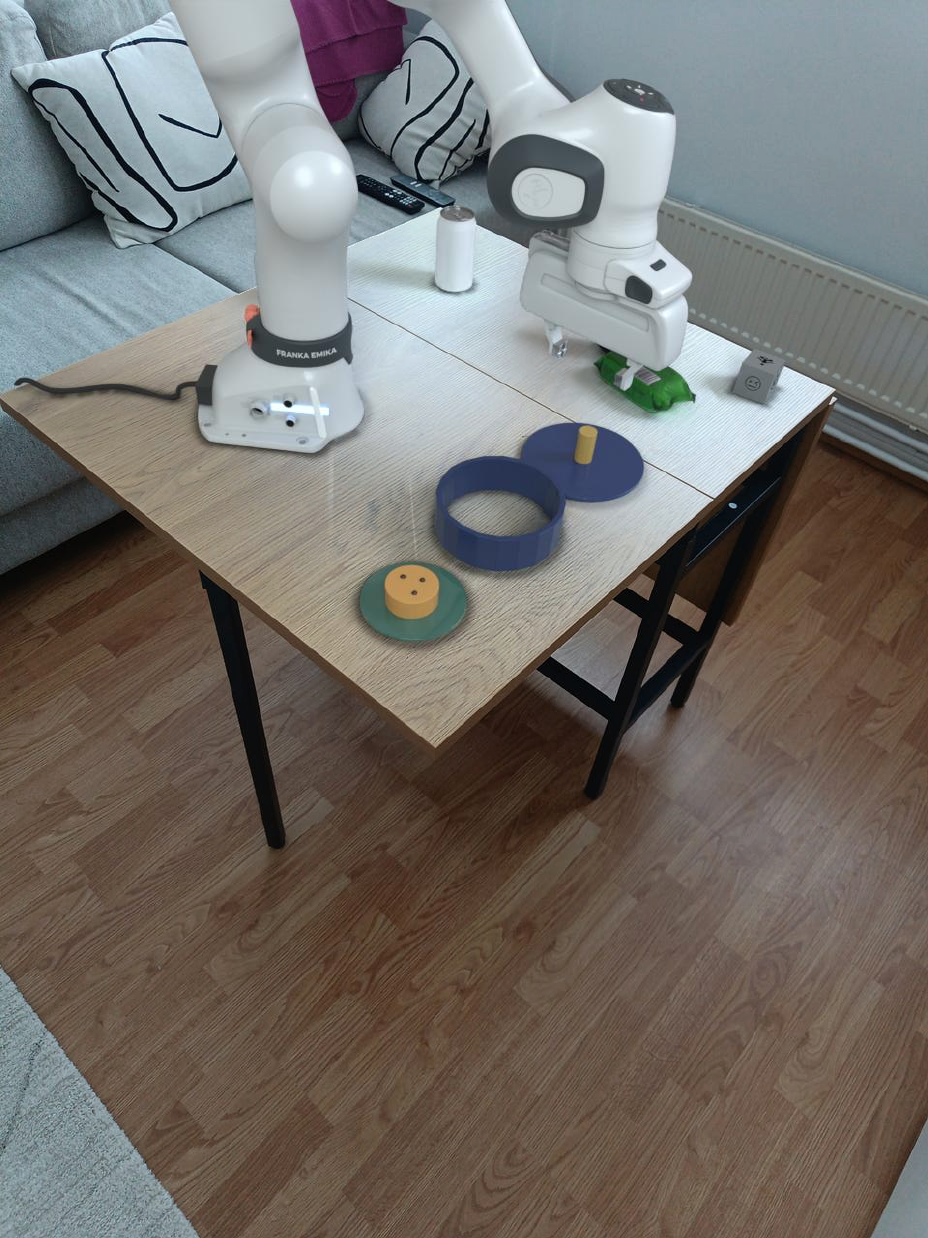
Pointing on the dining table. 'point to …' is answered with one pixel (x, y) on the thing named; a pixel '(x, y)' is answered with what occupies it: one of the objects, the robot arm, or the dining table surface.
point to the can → (455, 249)
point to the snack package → (647, 384)
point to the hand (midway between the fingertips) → (588, 370)
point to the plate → (414, 629)
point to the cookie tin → (505, 477)
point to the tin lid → (586, 460)
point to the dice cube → (758, 376)
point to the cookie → (411, 591)
